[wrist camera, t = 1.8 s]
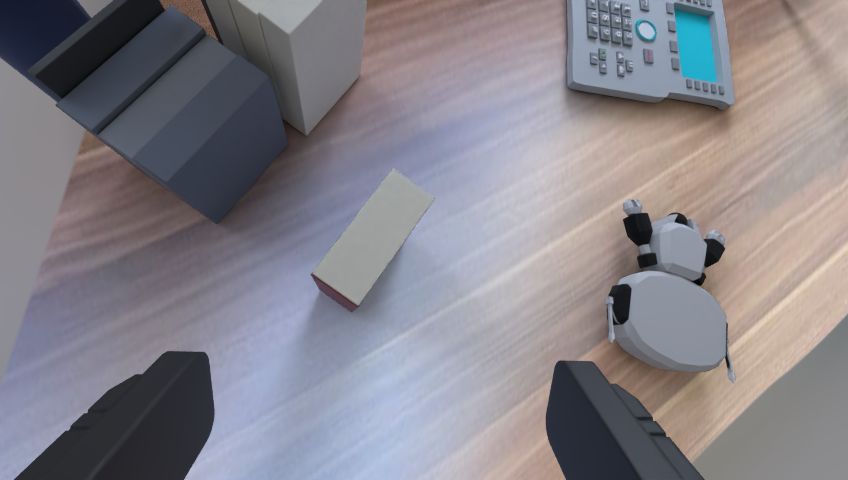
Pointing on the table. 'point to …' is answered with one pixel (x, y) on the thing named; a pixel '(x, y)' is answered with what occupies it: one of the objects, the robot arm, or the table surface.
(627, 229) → the robot toy
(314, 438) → the table surface
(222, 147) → the grey books
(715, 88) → the office telephone
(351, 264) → the cream book
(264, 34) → the white books
